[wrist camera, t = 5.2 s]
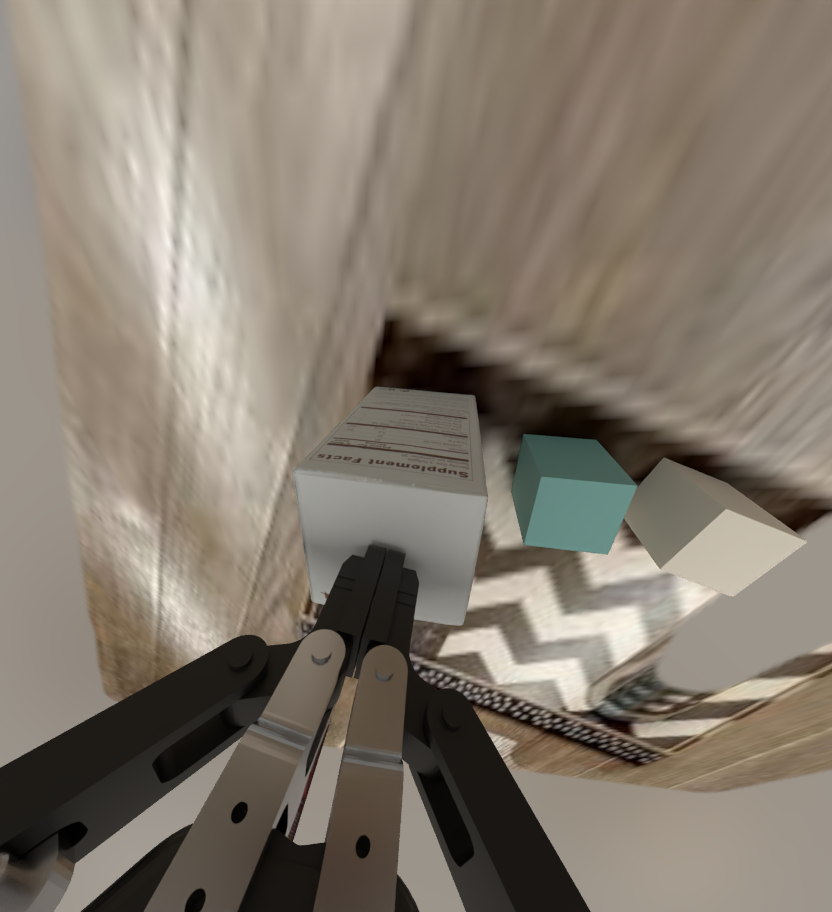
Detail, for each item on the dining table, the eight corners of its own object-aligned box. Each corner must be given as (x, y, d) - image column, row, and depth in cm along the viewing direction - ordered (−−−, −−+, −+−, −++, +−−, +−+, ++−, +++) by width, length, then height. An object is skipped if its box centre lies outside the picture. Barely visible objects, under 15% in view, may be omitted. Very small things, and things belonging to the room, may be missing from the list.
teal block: (523, 433, 23) (541, 476, 17) (596, 439, 22) (637, 485, 17) (511, 491, 25) (523, 544, 20) (576, 498, 24) (607, 554, 19)
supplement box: (464, 482, 25) (464, 633, 14) (373, 471, 26) (304, 606, 15) (478, 392, 22) (494, 498, 11) (373, 381, 22) (284, 470, 11)
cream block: (663, 457, 22) (726, 508, 17) (726, 482, 22) (807, 541, 17) (617, 509, 24) (659, 569, 19) (674, 531, 25) (732, 597, 19)
